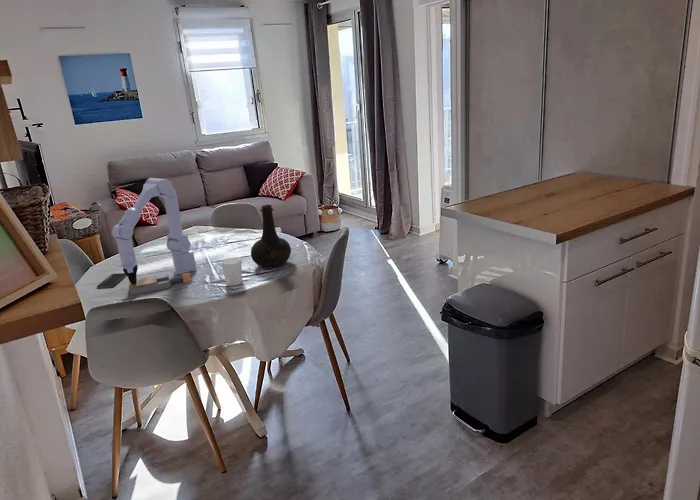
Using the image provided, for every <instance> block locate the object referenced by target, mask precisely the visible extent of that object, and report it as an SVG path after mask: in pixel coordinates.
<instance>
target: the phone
mask: <svg viewBox="0 0 700 500" xmlns="http://www.w3.org/2000/svg"><path fill="white" fill-rule="evenodd" d="M126 278H127V275H126V274H125V273H124V272H121V273H118V272H117V273H111V274H110V275H109V276H107V277H106V278H105V279H103V281H101V282H100V283H99V284H98V285H96V289H111V288H115V287H117V286H118V284H120V283H121V282H122V281H123V280H124V279H126Z"/></svg>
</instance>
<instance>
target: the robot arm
mask: <svg viewBox="0 0 700 500" xmlns="http://www.w3.org/2000/svg"><path fill="white" fill-rule="evenodd" d="M154 197H161V198H163V200H164V206H165V207H164V208H165V212H166V218H167V224H168V225H167V226H168V230H169V233H168V234H167V236H166V238H167V239H166V247H167V248H166V249H168V250H169V251H170V253H171V256H172V261H173V262H172V263H173V267H174V268H173V271H174V272H173V273H174V275H182V274H184V273H190V272H195V271H197V263H196V259H195V253H194V251H193V250H192V249H191V245H192V244H191V242H190V240H189V237H188V235H187V234H186V233H185V232H184V231H183V226H182V220H181V214H180V212H181V211H180V208H179V201H178V194H177V191H176V189H175V188H174V186H173V182H172V181H171V180H169V179H167V178H156V177H155V178H154V177H149V178H148V179H146V181H145V183H144V184H143V187H142V191H141V192H140V194H139V196H138V197H137V199H136V201H135V202H134V204H133V206H132V207H130V208H128V209H126V210H125V211H124V215H123V216H122V217H121V219H120V220H119V221H118V223H117V224H115V225H114V226H113V227H112V231H111V232H110V233H111V236H112V237H113V238H114V239H115V242H116V244H117V249H118V254H119V258H120V262H121V263H119V264H118V267H119V268H121V267H122V273H125V274H126V275H127V276H126V278H128V282H129V281H130V283H131V284H135V283H137V273H138V269H139V267H138V260H137V258H136V253H135V248H134V244H133V240H132V236H133V235H134V229H135V226H136V225H137V223H138V222H139V220H140V218H141V217H142V215H141V212H142V211H143V210H144V208H145V207H146V206H147V204H148V202H149V201H150V200H151V199H152V198H154ZM190 249H191V250H190Z"/></svg>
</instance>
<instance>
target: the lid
mask: <svg viewBox="0 0 700 500" xmlns="http://www.w3.org/2000/svg"><path fill="white" fill-rule="evenodd" d="M156 278H157V276H156V275H154V276H149V277H143V278H138V279H137V283H135V284H131V283H130V281H129V280H128V290H129V289H133V288H138V287H143V286H148V285H153V284H157V279H156Z"/></svg>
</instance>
